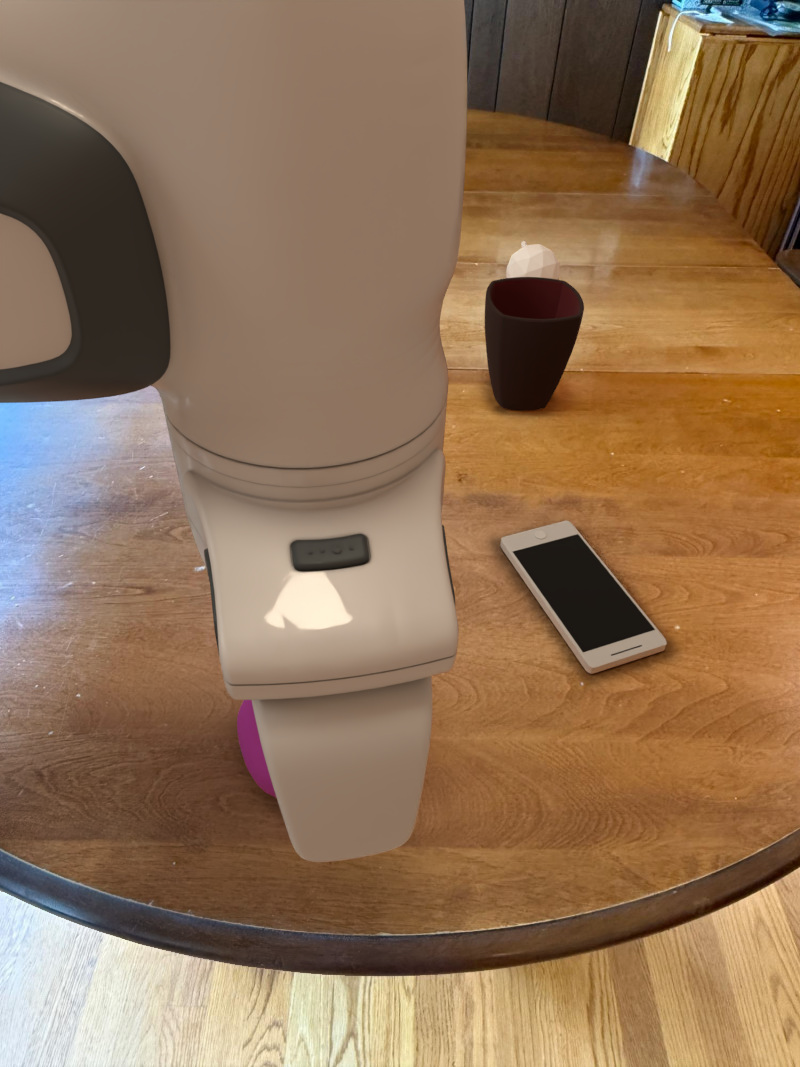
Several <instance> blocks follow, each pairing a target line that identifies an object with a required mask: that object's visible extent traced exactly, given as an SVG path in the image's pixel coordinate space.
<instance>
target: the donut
mask: <svg viewBox="0 0 800 1067" xmlns="http://www.w3.org/2000/svg"><path fill="white" fill-rule="evenodd" d="M236 728H237V730H236V731H237V739H238V744H239V748H240V752H241V755H242V758H243V761H244V764H245V767H246V769H247V771H248V772H249V774H250V776H251V777H252V780H253V781H254V782H255V784H256V785H257V787H259V788H260V789H261V790H262V791H263V792H264V793H265V794H267V795H270V796H271V797H273V798H275V799H277V797H276V794H275V791H274V788H273V784H272V781H271V778H270V775H269V771H268V767H267V764H266V760H265V757H264V753H263V749H262V746H261V742H260V737H259V733H258V728H257V724H256V719H255V715H254V710H253V705H252V700H242V702H241V704H240V707H239V710H238V713H237V718H236Z"/></svg>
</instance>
